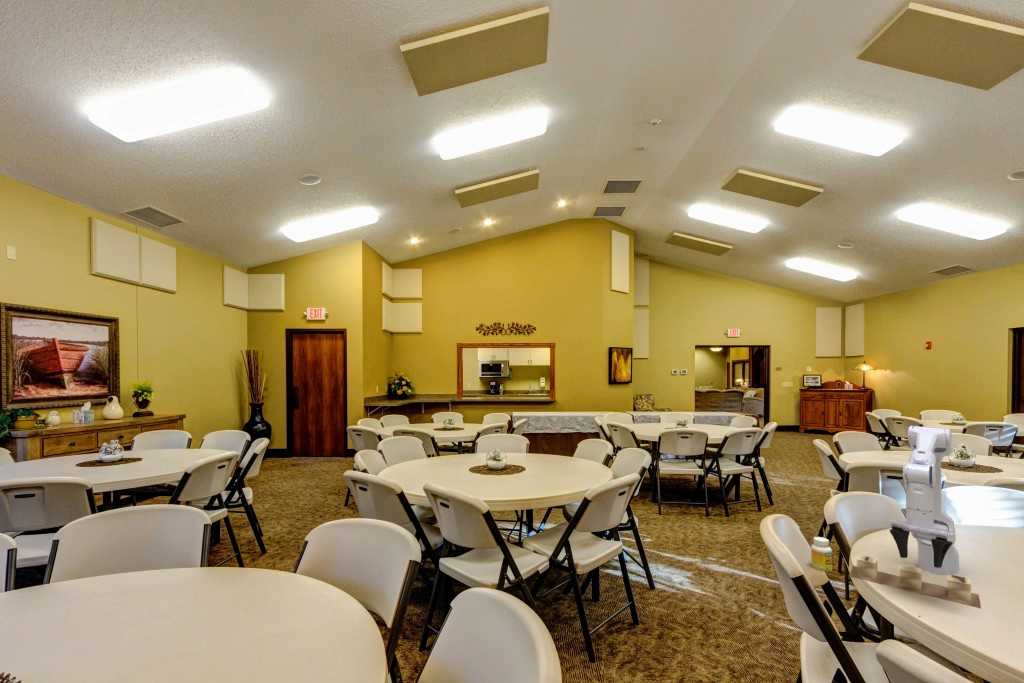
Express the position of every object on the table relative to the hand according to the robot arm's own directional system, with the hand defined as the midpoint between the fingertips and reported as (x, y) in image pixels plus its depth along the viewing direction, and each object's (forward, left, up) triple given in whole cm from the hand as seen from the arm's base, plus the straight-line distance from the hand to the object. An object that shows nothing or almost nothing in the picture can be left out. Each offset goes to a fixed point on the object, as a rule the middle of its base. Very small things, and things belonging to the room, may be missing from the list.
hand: (920, 562), depth 129 cm
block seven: (-12, 0, -10) cm, 15 cm away
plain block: (-5, -8, -10) cm, 13 cm away
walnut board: (-5, -8, -11) cm, 14 cm away
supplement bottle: (+11, -22, -11) cm, 26 cm away
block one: (+1, -15, -10) cm, 18 cm away
